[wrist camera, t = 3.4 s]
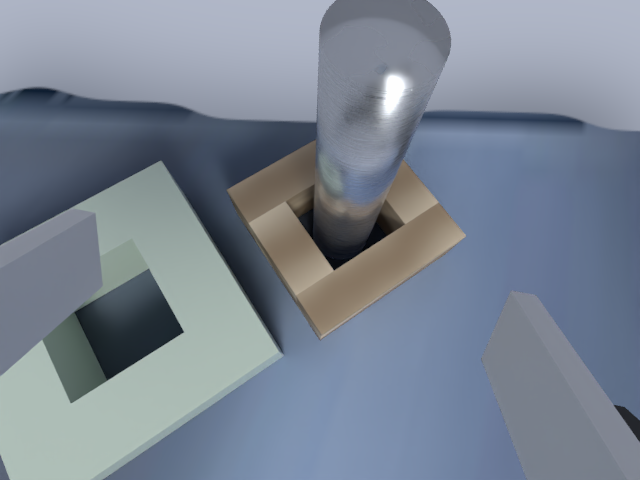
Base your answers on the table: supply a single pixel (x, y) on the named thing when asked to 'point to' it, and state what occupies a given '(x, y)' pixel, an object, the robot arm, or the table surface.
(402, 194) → the maple sleeve
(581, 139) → the table surface
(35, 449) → the sage rack
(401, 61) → the cylinder
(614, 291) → the table surface
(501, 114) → the table surface
